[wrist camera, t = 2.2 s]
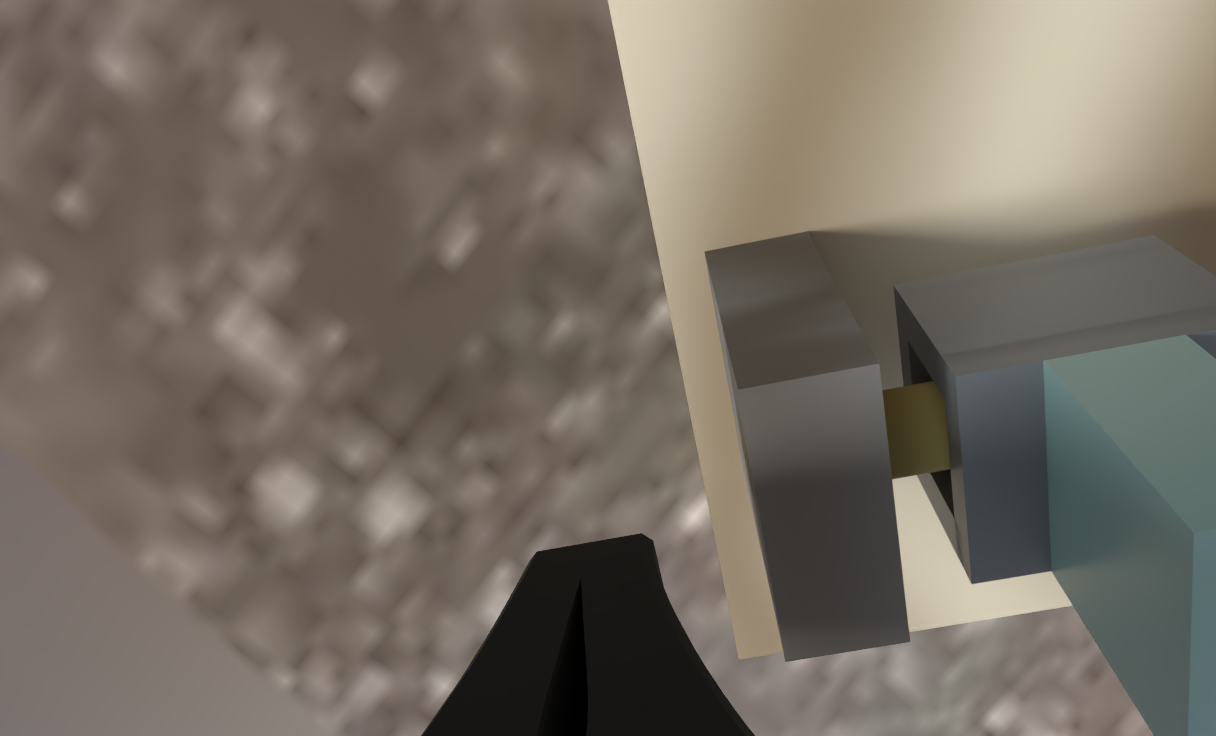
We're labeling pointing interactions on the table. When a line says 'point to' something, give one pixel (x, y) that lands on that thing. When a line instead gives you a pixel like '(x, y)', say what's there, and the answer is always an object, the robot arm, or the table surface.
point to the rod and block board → (883, 255)
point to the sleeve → (1086, 448)
